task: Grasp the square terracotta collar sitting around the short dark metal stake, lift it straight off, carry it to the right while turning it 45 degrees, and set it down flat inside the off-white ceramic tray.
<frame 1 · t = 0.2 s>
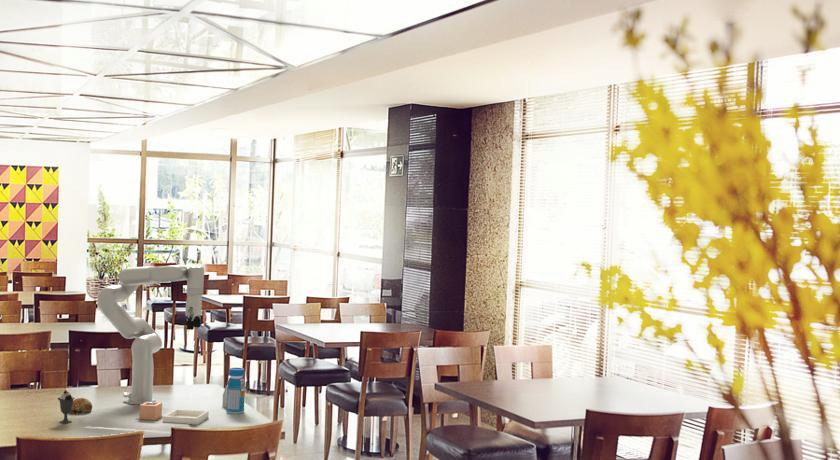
hand: (193, 328, 385), 36 cm above the table, tool pointing down, fingers open, 9 cm apart
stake: (150, 419, 354), on the table
bread roll: (79, 412, 363), on the table
tray: (185, 420, 355), on the table
grey faceted block: (230, 407, 385), on the table
beverage bottle: (234, 412, 376), on the table
collar: (150, 417, 354), point 1 cm above the table, touching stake
sundae: (65, 422, 343), on the table
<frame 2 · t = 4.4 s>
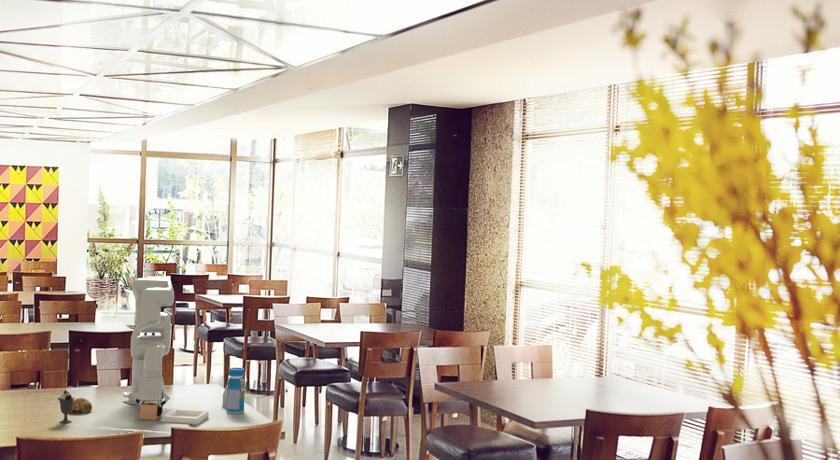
hand: (150, 414, 354), 2 cm above the table, tool pointing down, fingers closed on collar, 7 cm apart
collar: (150, 417, 354), point 1 cm above the table, touching gripper, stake
everything else where it was.
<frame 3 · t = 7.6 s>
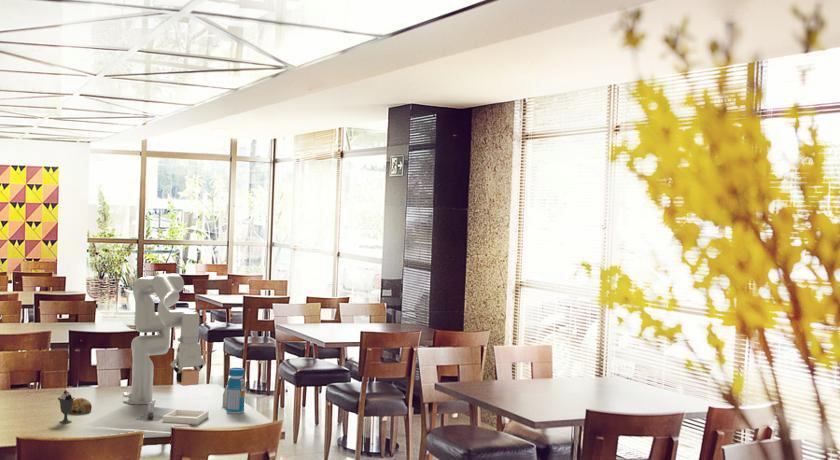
hand: (187, 380, 355), 17 cm above the table, tool pointing down, fingers closed on collar, 7 cm apart
collar: (187, 383, 355), point 16 cm above the table, touching gripper
everything else where it was.
when the fingers open (3 cm above the table, at t = 11.0 s): collar drops 1 cm, resting on tray.
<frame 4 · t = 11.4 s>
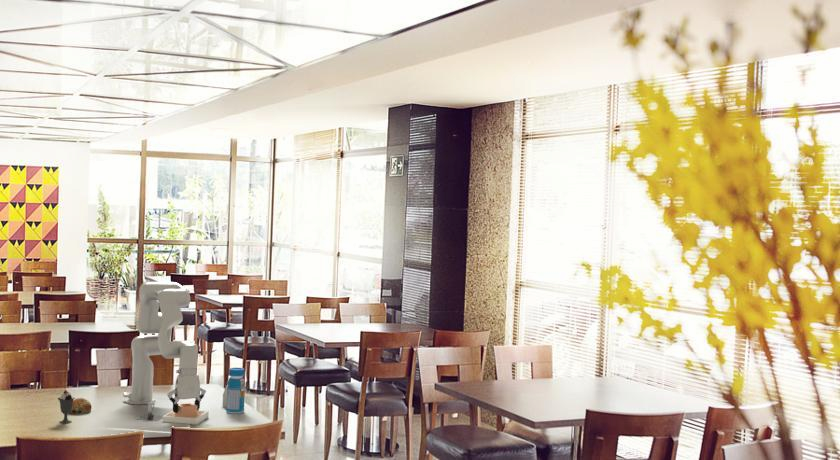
hand: (186, 411, 355), 4 cm above the table, tool pointing down, fingers open, 9 cm apart
collar: (185, 418, 355), point 1 cm above the table, touching tray
everything else where it was.
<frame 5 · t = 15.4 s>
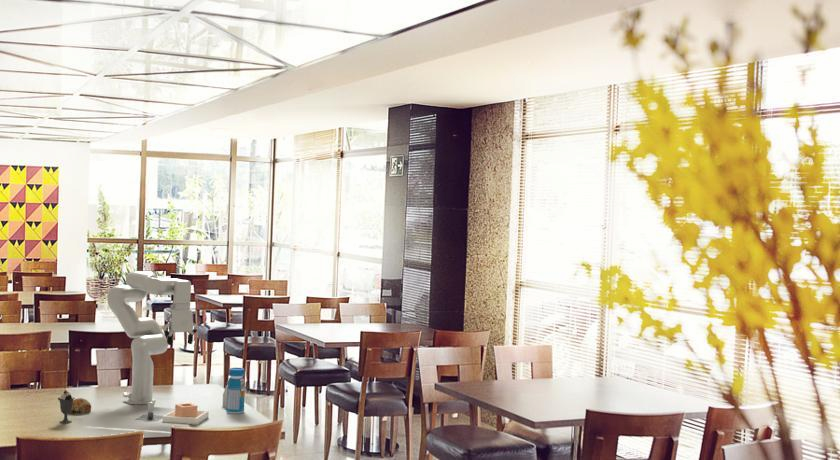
hand: (179, 344, 374), 30 cm above the table, tool pointing down, fingers open, 9 cm apart
nothing on the table moved.
at the end: collar inside the target area on the tray (0.1 cm from its centre), point 0.8 cm above the tray's base; collar tilted 0°; the gripper is holding nothing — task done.
